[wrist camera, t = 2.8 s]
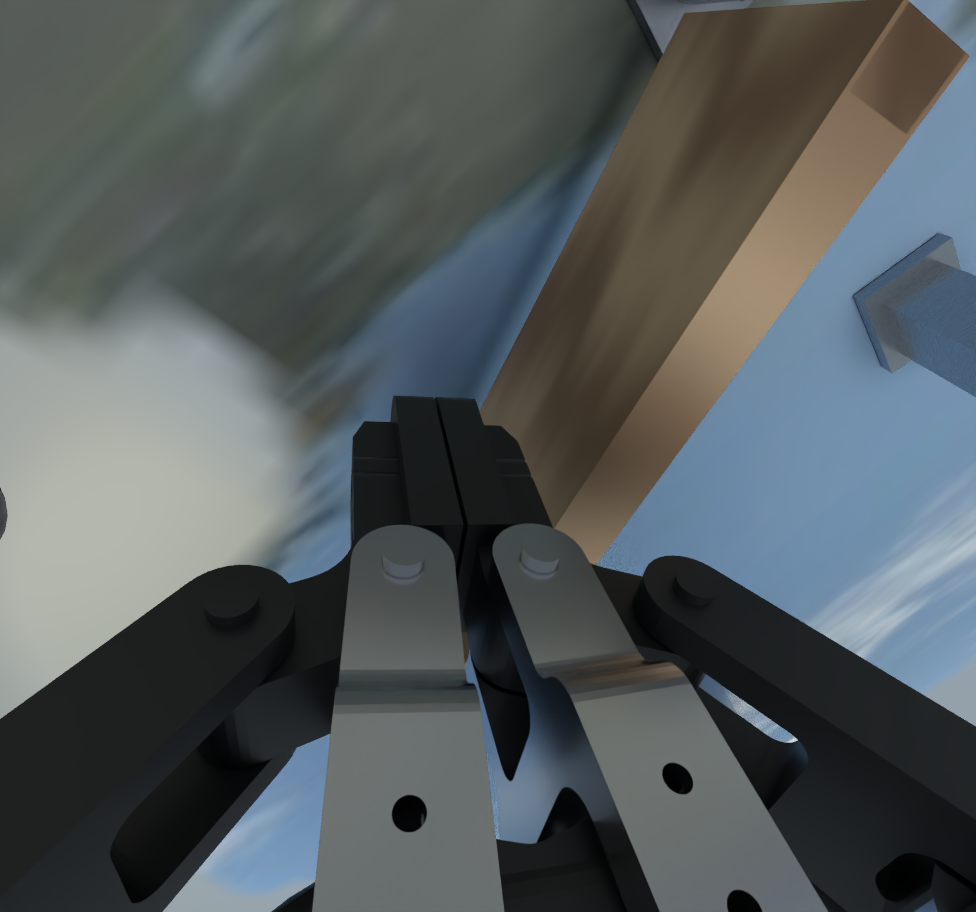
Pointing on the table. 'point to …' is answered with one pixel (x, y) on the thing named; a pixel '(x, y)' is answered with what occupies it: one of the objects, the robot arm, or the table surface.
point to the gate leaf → (705, 238)
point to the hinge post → (673, 16)
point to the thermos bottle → (2, 513)
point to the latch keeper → (925, 314)
